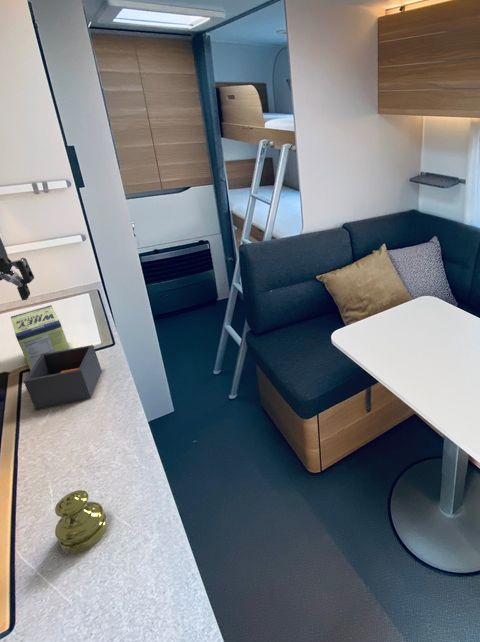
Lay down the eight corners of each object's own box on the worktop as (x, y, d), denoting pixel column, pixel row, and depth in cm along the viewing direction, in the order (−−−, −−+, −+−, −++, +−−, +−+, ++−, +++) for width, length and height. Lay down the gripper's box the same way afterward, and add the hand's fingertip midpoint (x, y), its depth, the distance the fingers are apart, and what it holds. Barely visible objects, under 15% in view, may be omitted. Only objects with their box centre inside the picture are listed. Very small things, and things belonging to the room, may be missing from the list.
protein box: (66, 345, 136) (51, 304, 130) (76, 365, 126) (60, 321, 120) (27, 358, 130) (9, 316, 124) (34, 381, 119) (15, 336, 113)
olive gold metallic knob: (66, 525, 79) (50, 489, 75) (111, 510, 82) (97, 474, 78) (57, 562, 73) (38, 525, 69) (105, 544, 76) (90, 507, 72)
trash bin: (36, 411, 108) (23, 381, 104) (52, 382, 119) (41, 354, 115) (91, 399, 112) (80, 370, 108) (102, 372, 123) (93, 344, 119)
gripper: (22, 231, 100) (44, 290, 106) (-51, 239, 96) (-24, 300, 102) (9, 241, 94) (33, 303, 100) (-70, 250, 89) (-40, 314, 95)
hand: (4, 302), depth 101 cm, fingers open, 8 cm apart
